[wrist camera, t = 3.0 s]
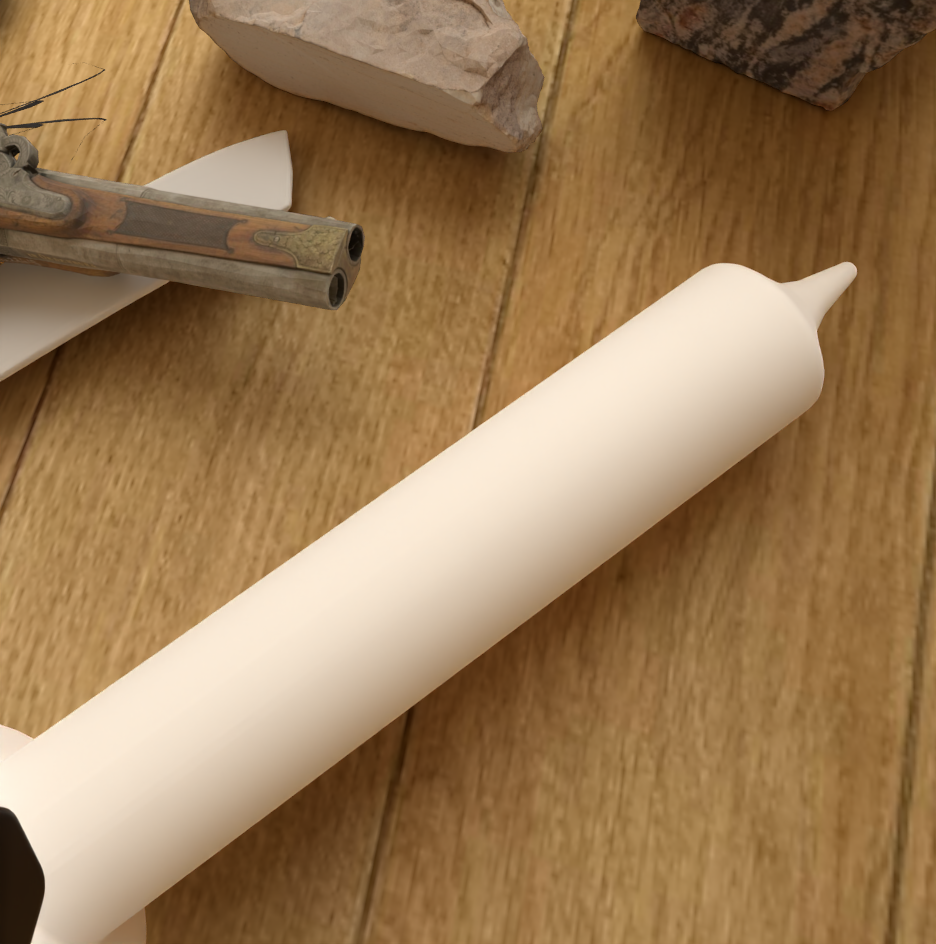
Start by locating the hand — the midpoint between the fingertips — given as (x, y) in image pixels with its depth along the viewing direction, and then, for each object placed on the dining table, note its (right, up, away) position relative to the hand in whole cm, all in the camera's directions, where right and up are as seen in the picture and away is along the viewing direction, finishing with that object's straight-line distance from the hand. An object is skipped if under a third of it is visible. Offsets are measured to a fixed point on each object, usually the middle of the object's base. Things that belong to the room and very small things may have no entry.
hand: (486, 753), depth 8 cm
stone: (-2, +17, +14) cm, 22 cm away
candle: (-10, -6, +11) cm, 16 cm away
